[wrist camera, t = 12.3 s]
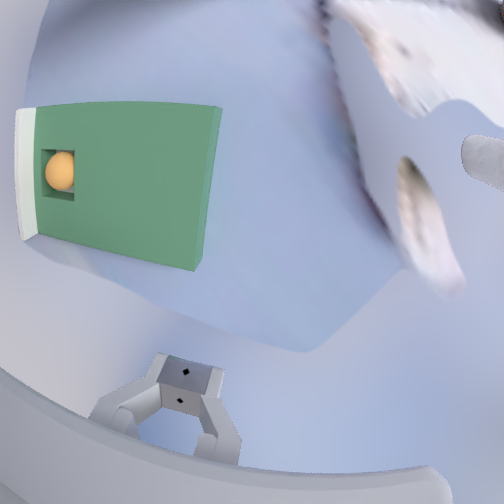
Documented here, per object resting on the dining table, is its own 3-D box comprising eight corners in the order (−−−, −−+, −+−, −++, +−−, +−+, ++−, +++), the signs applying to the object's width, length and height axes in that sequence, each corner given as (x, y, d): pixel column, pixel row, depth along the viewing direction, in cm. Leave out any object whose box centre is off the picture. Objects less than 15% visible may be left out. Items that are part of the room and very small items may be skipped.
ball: (39, 152, 26) (72, 139, 30) (42, 180, 30) (73, 166, 33) (50, 176, 26) (86, 160, 29) (54, 204, 30) (86, 188, 33)
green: (48, 106, 29) (16, 109, 23) (222, 108, 28) (206, 104, 22) (48, 223, 36) (20, 239, 30) (201, 258, 36) (185, 285, 30)
